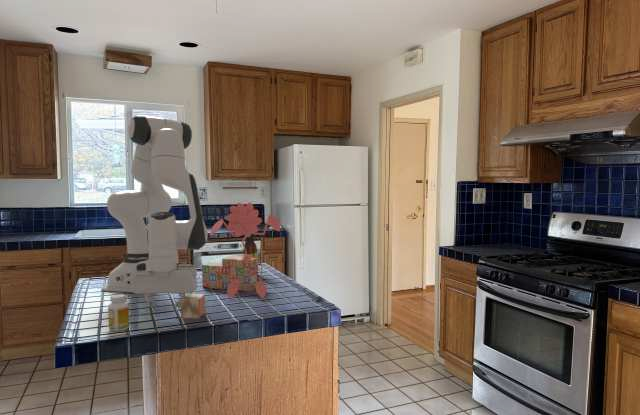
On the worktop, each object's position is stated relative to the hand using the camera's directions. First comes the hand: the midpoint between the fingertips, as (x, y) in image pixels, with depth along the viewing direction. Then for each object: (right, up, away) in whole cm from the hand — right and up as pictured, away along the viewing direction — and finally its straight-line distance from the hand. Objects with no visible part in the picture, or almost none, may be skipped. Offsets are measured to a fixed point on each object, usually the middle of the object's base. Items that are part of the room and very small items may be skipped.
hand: (165, 306), depth 143 cm
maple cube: (+6, 0, 0) cm, 6 cm away
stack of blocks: (+13, -1, +35) cm, 38 cm away
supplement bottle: (-9, -4, -12) cm, 16 cm away
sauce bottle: (+19, +1, +57) cm, 60 cm away
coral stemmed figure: (+23, -2, +17) cm, 28 cm away
